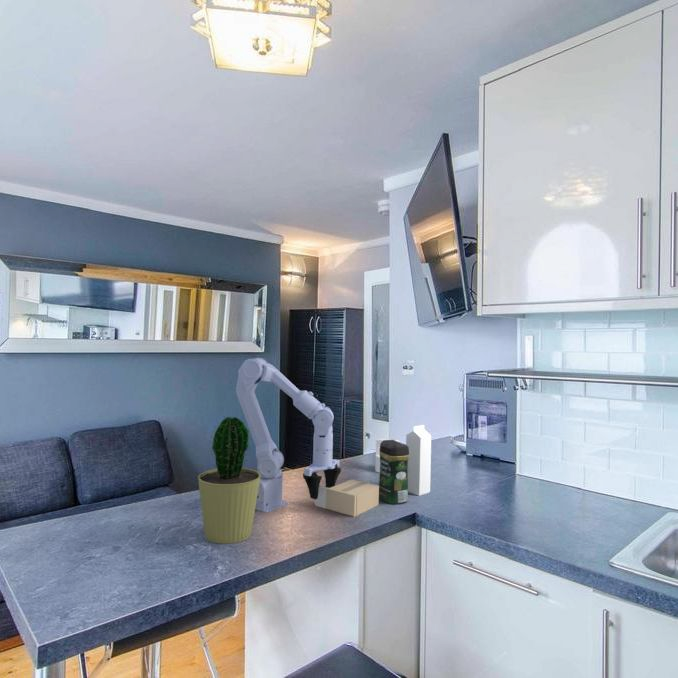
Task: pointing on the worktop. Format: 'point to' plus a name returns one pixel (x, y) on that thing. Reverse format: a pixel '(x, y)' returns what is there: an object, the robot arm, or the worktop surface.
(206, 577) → the worktop surface
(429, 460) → the milk
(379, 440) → the cylinder with rectangular tab
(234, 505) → the potted cactus
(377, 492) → the carton
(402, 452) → the coffee jar
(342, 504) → the beige rectangular panel
